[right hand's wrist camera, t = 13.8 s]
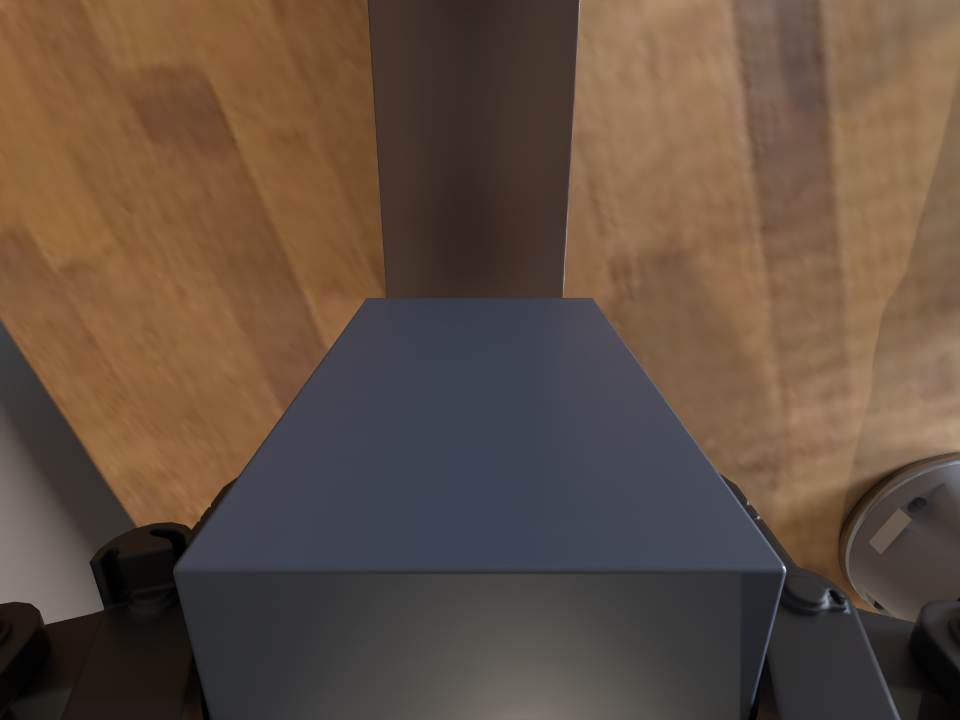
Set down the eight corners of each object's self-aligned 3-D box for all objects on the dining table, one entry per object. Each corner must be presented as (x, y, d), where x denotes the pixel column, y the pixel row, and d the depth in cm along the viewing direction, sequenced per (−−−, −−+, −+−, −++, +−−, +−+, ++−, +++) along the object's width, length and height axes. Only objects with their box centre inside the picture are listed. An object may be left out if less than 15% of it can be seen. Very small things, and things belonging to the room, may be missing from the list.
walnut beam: (565, -241, 28) (603, -404, 19) (541, 307, 38) (560, 355, 30) (382, -241, 27) (341, -406, 19) (409, 307, 38) (390, 355, 30)
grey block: (593, 297, 15) (791, 568, 5) (579, 490, 17) (701, 919, 8) (365, 297, 15) (168, 568, 5) (380, 490, 17) (257, 920, 8)
